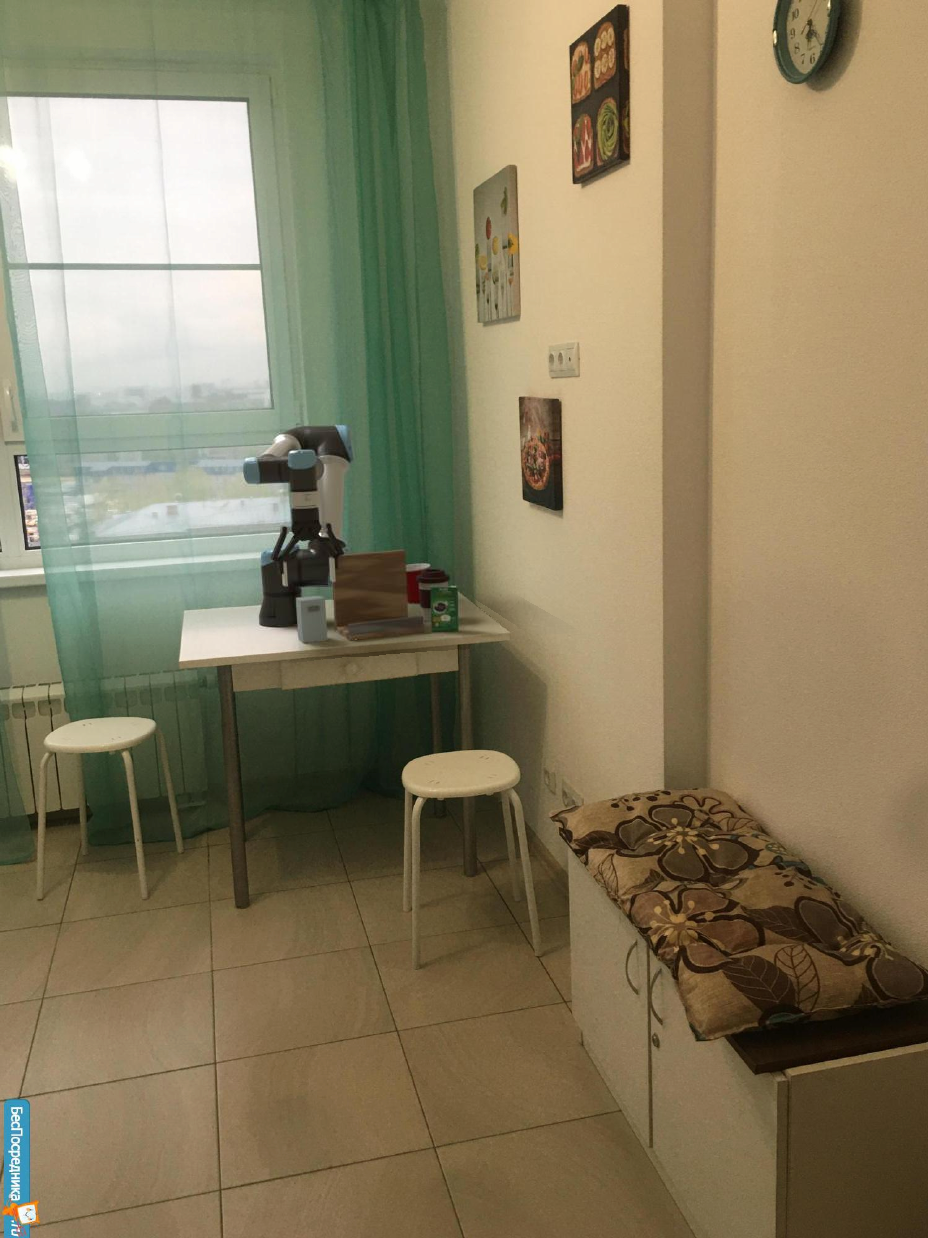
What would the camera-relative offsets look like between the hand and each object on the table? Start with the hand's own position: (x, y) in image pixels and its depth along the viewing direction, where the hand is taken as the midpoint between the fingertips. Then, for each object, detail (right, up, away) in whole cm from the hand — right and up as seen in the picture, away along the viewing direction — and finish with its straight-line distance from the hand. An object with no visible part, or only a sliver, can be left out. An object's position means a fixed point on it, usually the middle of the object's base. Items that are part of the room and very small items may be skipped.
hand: (309, 583), depth 304 cm
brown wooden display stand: (+19, -13, +12) cm, 26 cm away
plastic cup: (+27, -4, +55) cm, 61 cm away
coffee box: (+38, -13, +10) cm, 41 cm away
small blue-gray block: (+1, -16, +4) cm, 16 cm away
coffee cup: (+34, -10, +26) cm, 44 cm away
